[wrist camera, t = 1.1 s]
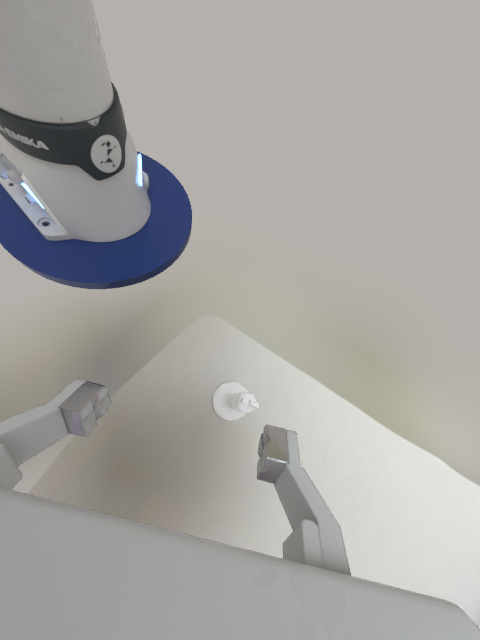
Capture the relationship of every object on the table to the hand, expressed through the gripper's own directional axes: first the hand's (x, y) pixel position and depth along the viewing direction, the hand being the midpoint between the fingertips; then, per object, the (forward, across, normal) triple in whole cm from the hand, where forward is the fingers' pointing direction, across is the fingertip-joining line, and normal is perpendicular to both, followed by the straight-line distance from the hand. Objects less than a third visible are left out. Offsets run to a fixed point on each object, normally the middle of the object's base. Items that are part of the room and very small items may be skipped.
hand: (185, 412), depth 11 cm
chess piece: (+13, -3, +14) cm, 19 cm away
